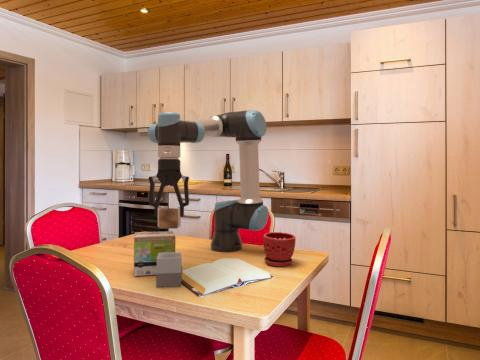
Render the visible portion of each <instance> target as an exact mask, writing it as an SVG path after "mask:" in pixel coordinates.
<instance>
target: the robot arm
mask: <svg viewBox="0 0 480 360" xmlns="http://www.w3.org/2000/svg"><path fill="white" fill-rule="evenodd" d="M266 133H267V122H266V119H265V116H264V115H263V113H262V112H261V111H259V110H254V109H253V110H252V109H251V110H250V109H249V110H239V111H228V112H224V113H221V114H215V115H211V116H209V117H208V118H201V119H193V120H191V119H190V120H182V118H181V114H180V113H179V112H174V111H173V112H171V111H163V112H160V113H158V115H157V123H154V124H151V125H150V126H149V128H148V131H147V134H148V139H149V140H150V141H151V142H152V143H153V144H157V157H158V158H159V159H158V160H157V173H156V174H155V175H151V176H149V177H148V181H149V195H148V197H149V198H148V205H149V207H153V209H154V212H153V213H154V217H155V218H157V227H158V228H159V210H161V209H162V206H160V203H161V200H162V197H163V193H164V191H165V187H168V186H170V187H173V189H174V192H175V195H176V198H177V201H178V205H179V206H178V207H177V208H178V228H180V227H181V226H182V224H181V223H182V221H181V220H182V219H181V217H182V218H183V217H184V216H185V207H187V206H189V205H190V196H189V182H190V176H186V175H183V174H182V172H181V160H180V159H179V158H181V144H182V143H185V144H188V143H191V144H198V143H201V142H203V140H204V138H205V137H212V138H218V137H220V138H235V143H237V145H239V146H238V147H239V148H238V150H239V155H238V156H239V177H240V198H239V199H230V200H223V201H217V202H215V204H214V210H213V211H214V213H213V214H214V220H213V221H214V224H213V225H214V232H213V236H212V238H211V242H210V249H211V250H213V251H214V252H220V253H222V252H223V253H230V252H238V251H240V250H242V249H243V242H242V239H241V235H240V233H239V229H240V230H249V231H252V232H253V231H261V230H263V229H264V228H265V226H266V225H267V224H268V223H267V222H268V219H269V209H268V207H267V205H264V200H263V199H262V198H261V195H260V164H259V163H260V162H259V161H260V160H259V158H260V157H259V144H260V143H261V142H262V138H263V137H264V136H265V135H266ZM157 180H158V181H159V183H160V186H159V190H158V193H157V196H156V199H155V190H156V189H155V185H156V183H155V182H156V181H157ZM180 180H181V181H182V182H183V190H184V192H183V193H184V200H183V197H182V194H181V192H180V188H179V187H180V186H179V184H178V183H179V181H180Z"/></svg>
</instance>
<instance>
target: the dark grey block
mask: <svg viewBox="0 0 480 360" xmlns="http://www.w3.org/2000/svg"><path fill="white" fill-rule="evenodd" d="M155 278H156V281H155V282H156V283H155V286H156V289H160V288H163V289H164V287H166V288H181V287H182V283H181V281H182V282H183V266H181V273H161V274H157V273H156V275H155Z"/></svg>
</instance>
